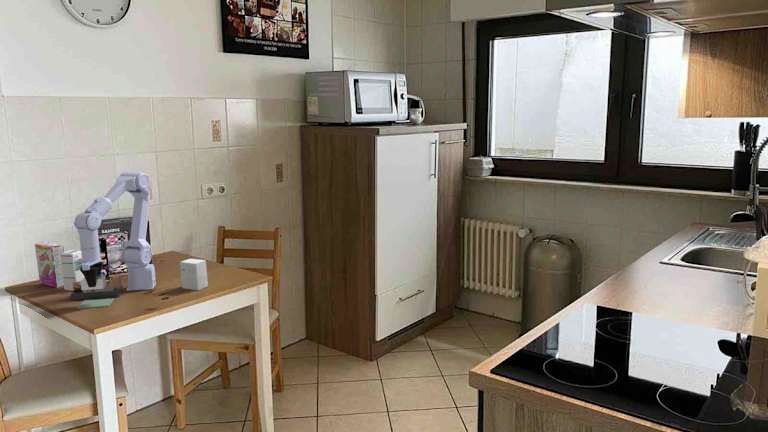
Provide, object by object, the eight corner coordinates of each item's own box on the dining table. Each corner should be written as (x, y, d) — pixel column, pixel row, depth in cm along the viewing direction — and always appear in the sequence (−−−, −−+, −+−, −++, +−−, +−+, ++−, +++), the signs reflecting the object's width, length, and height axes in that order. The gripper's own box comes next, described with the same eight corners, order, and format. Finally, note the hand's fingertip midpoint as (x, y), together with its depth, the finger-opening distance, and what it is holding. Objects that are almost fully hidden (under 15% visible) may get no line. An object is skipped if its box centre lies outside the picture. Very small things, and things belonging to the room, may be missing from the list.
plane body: (123, 291, 219) (121, 273, 217) (118, 297, 212) (117, 278, 211) (77, 294, 216) (75, 276, 214) (71, 300, 209) (69, 281, 208)
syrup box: (77, 291, 220) (73, 253, 217) (63, 290, 221) (59, 253, 218) (87, 286, 225) (83, 250, 223) (74, 285, 227) (70, 249, 224)
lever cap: (106, 285, 206) (105, 274, 205) (103, 288, 202) (102, 277, 201) (85, 286, 205) (83, 275, 204) (81, 290, 201) (80, 278, 200)
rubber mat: (114, 299, 209) (114, 298, 209) (108, 306, 202) (108, 305, 202) (84, 301, 207) (84, 300, 207) (77, 308, 200) (77, 307, 200)
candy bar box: (39, 284, 229) (33, 244, 226) (51, 281, 233) (46, 241, 230) (56, 288, 223) (51, 247, 220) (68, 285, 228) (64, 244, 225)
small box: (208, 286, 223) (206, 260, 221) (198, 290, 218) (196, 263, 216) (192, 284, 226) (190, 258, 225) (181, 288, 221) (179, 261, 220)
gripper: (83, 243, 207) (87, 279, 210) (70, 252, 193) (75, 292, 196) (105, 242, 208) (108, 278, 211) (93, 251, 194) (97, 290, 197)
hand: (94, 285), depth 203 cm, fingers closed on lever cap, 4 cm apart
